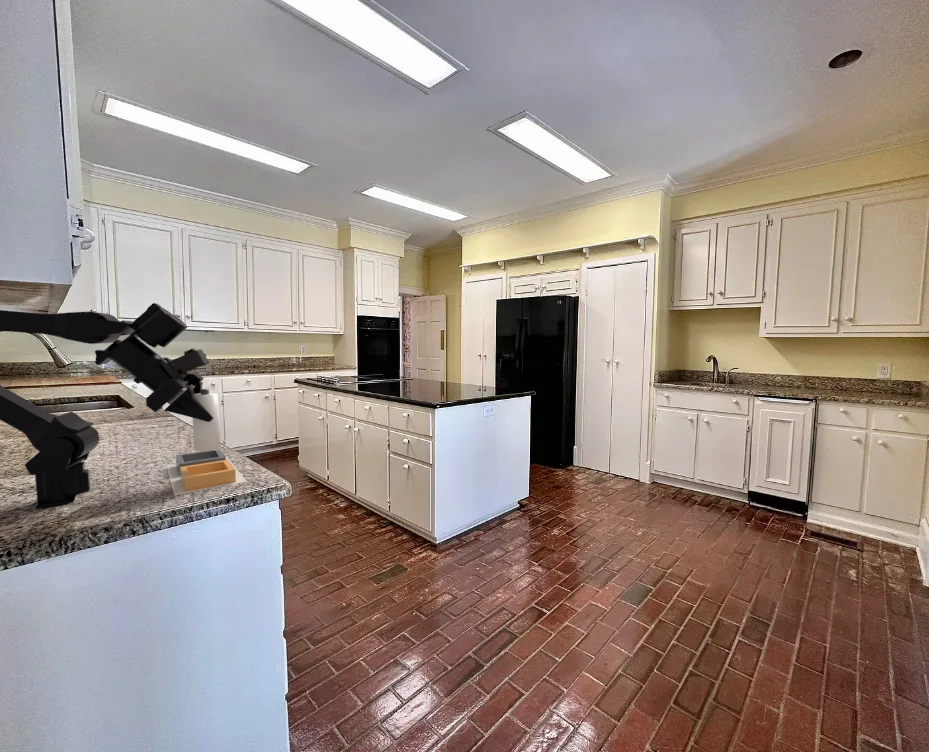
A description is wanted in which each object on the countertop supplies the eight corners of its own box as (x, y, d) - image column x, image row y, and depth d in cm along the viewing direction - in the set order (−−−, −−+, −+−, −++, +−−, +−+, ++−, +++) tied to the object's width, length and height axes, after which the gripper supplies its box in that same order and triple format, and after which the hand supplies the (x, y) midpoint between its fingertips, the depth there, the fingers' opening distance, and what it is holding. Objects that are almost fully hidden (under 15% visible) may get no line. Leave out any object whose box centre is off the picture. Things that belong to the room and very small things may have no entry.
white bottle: (190, 451, 81) (187, 390, 80) (199, 445, 86) (196, 388, 85) (216, 450, 82) (213, 390, 81) (223, 444, 87) (221, 387, 86)
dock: (174, 500, 76) (173, 482, 75) (166, 470, 93) (165, 455, 92) (247, 486, 83) (246, 469, 83) (227, 460, 100) (226, 446, 100)
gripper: (164, 334, 72) (238, 394, 77) (190, 335, 89) (249, 384, 94) (110, 380, 70) (190, 439, 75) (148, 372, 87) (211, 420, 92)
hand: (213, 417), depth 84 cm, fingers closed on white bottle, 5 cm apart
